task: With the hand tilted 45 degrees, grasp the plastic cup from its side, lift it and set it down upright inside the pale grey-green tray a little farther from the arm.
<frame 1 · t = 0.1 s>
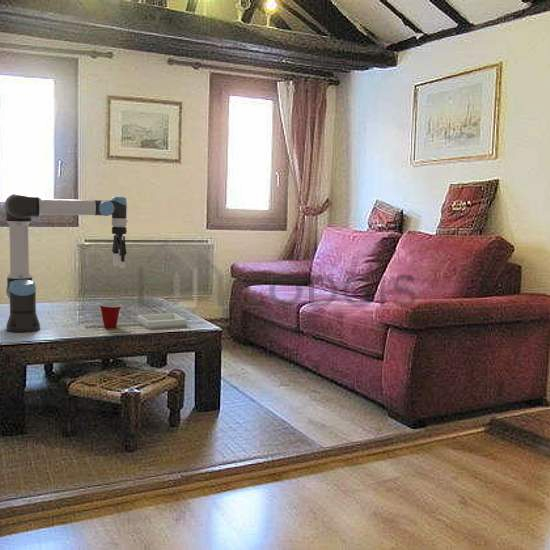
hand: (119, 266, 341), 28 cm above the table, tool pointing down, fingers open, 13 cm apart
plastic cup: (110, 327, 321), on the table
tray: (161, 324, 333), on the table
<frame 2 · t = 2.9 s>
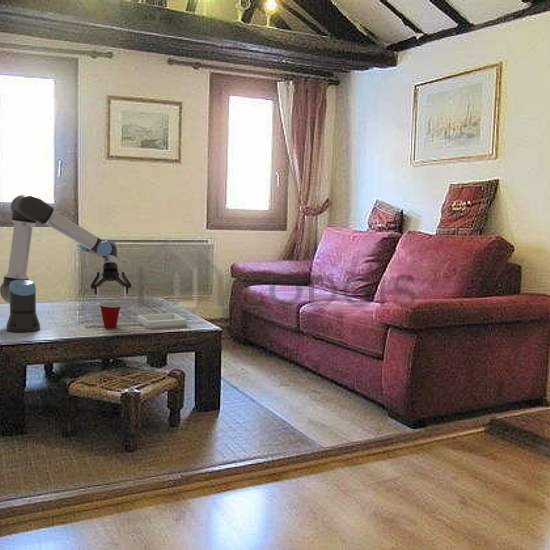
hand: (111, 298, 328), 13 cm above the table, tool tilted 45°, fingers open, 13 cm apart
nothing on the table moved.
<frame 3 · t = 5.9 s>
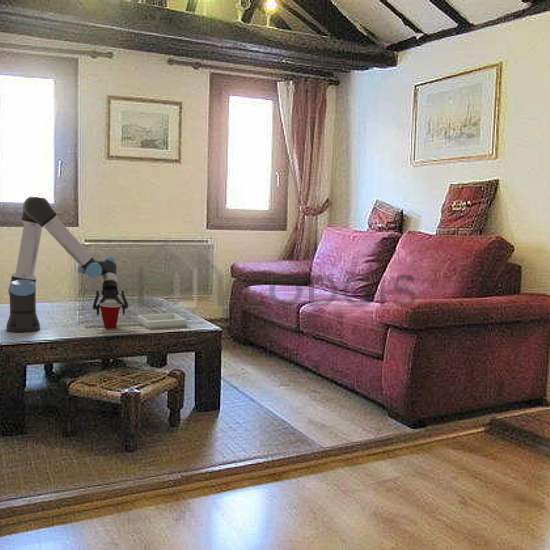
hand: (111, 319, 318), 4 cm above the table, tool tilted 45°, fingers closed on plastic cup, 10 cm apart
plastic cup: (110, 327, 321), on the table, touching gripper
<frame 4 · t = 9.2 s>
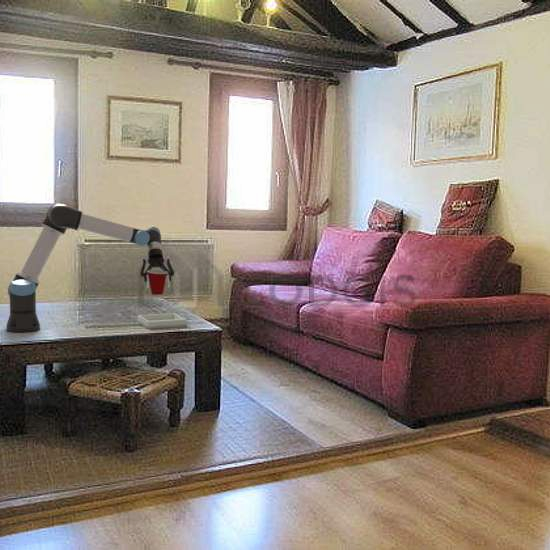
hand: (158, 286, 326), 20 cm above the table, tool tilted 45°, fingers closed on plastic cup, 10 cm apart
plastic cup: (157, 294, 330), point 16 cm above the table, touching gripper
when the fingers open (7 cm above the table, at t = 12.9 s): plastic cup moves 4 cm, resting on tray.
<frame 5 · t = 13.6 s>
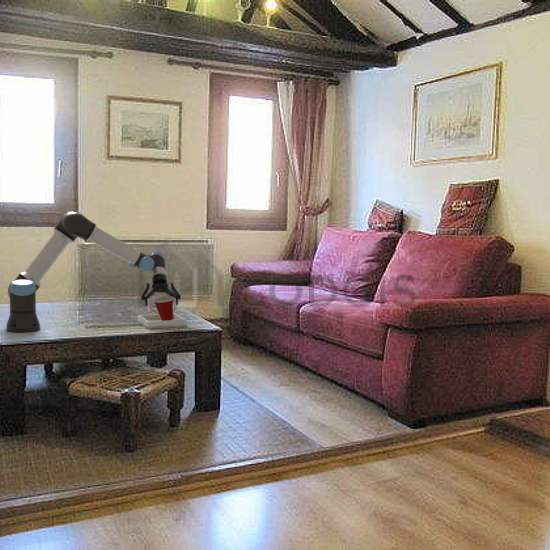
hand: (162, 310, 330), 8 cm above the table, tool tilted 45°, fingers open, 13 cm apart
plastic cup: (168, 320, 335), point 1 cm above the table, touching gripper, tray
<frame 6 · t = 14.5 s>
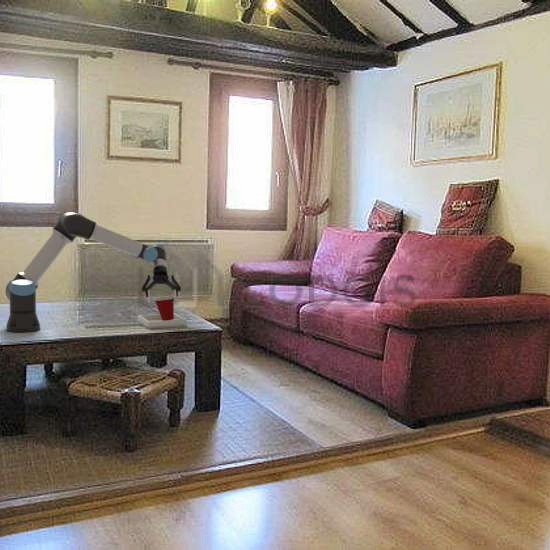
hand: (162, 301, 334), 11 cm above the table, tool tilted 45°, fingers open, 13 cm apart
plastic cup: (168, 320, 336), point 1 cm above the table, touching tray
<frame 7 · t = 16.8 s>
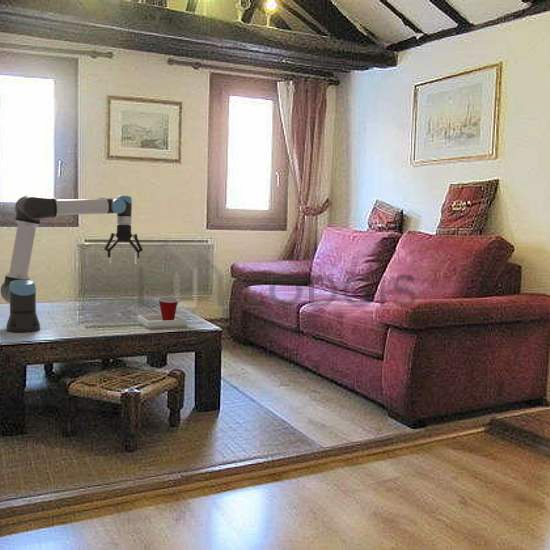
hand: (123, 264, 348), 29 cm above the table, tool pointing down, fingers open, 13 cm apart
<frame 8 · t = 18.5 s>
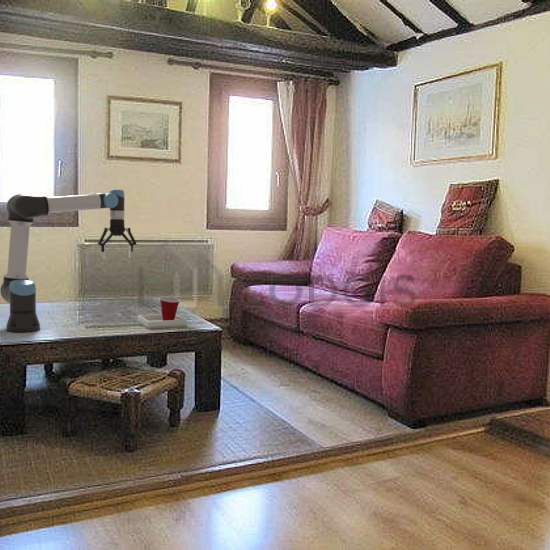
hand: (117, 258, 349), 32 cm above the table, tool pointing down, fingers open, 13 cm apart
at the end: plastic cup inside the target area on the tray (4.5 cm from its centre), point 1.0 cm above the tray's base; plastic cup tilted 3°; the gripper is holding nothing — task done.
